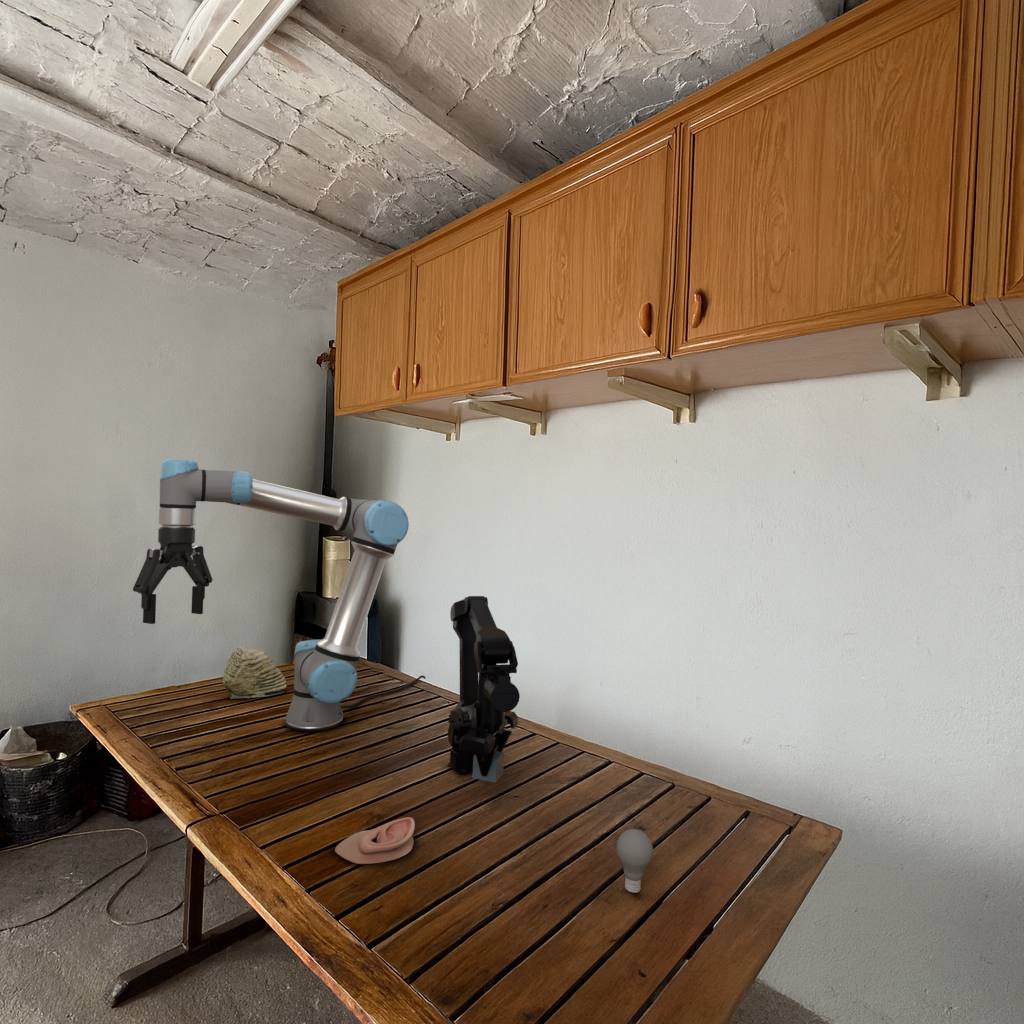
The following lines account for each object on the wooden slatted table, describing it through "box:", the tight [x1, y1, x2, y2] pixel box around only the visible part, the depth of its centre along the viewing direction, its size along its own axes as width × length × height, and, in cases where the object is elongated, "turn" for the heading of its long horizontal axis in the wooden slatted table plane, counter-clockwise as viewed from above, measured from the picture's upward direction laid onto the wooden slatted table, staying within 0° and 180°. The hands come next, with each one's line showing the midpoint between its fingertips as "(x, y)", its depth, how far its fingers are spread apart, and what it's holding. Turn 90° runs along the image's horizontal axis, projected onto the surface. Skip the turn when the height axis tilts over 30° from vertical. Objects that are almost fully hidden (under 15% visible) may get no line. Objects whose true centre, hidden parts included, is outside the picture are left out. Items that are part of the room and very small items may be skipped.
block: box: [472, 751, 505, 783], centre depth 131 cm, size 4×5×5 cm
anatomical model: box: [334, 816, 416, 865], centre depth 115 cm, size 13×4×12 cm
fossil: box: [222, 646, 288, 699], centre depth 198 cm, size 9×18×15 cm, turn 132°
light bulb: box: [615, 828, 654, 894], centre depth 106 cm, size 6×6×10 cm
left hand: (174, 618), depth 146 cm, fingers open, 13 cm apart
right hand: (488, 771), depth 131 cm, fingers closed on block, 4 cm apart
